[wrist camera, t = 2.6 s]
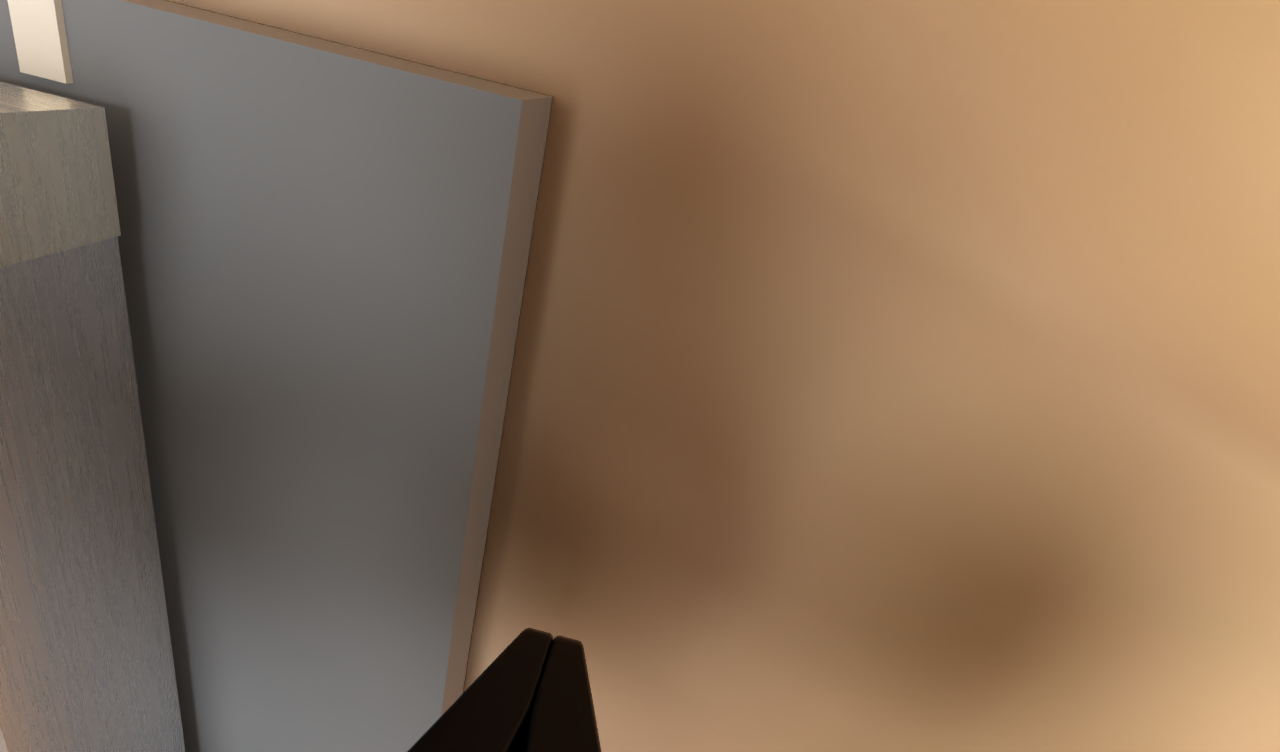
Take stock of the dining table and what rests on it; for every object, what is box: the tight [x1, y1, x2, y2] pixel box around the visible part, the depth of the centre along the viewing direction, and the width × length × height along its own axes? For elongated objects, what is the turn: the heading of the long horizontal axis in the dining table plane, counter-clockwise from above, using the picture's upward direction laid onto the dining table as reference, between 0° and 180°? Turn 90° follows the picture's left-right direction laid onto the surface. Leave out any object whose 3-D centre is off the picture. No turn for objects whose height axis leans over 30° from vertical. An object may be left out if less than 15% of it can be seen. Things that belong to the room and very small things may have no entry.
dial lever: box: [0, 81, 185, 752], centre depth 11 cm, size 18×5×3 cm, turn 167°
